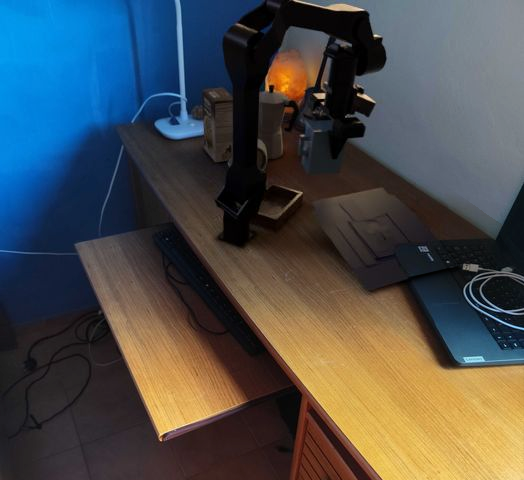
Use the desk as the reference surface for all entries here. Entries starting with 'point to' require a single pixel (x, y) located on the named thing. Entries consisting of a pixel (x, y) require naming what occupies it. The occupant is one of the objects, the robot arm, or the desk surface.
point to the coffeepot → (274, 120)
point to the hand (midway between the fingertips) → (329, 153)
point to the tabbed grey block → (318, 149)
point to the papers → (370, 232)
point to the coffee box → (218, 123)
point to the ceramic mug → (258, 156)
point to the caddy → (277, 206)
